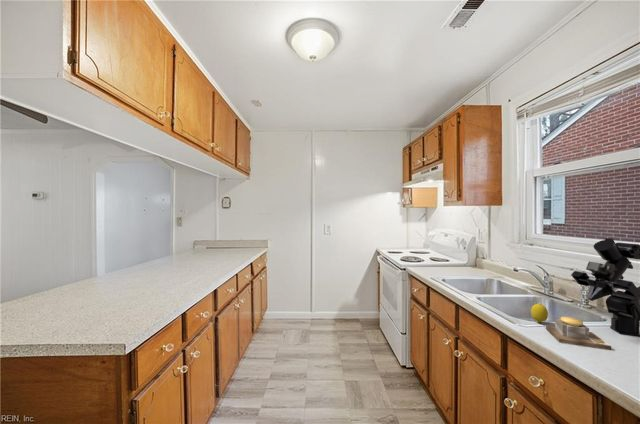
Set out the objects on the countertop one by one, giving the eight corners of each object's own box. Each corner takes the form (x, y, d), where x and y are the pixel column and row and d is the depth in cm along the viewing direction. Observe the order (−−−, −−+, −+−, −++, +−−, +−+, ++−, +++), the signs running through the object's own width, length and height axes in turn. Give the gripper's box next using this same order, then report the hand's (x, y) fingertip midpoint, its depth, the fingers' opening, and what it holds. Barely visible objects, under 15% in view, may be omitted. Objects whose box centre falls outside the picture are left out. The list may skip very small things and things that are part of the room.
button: (577, 331, 105) (577, 318, 105) (586, 337, 99) (586, 324, 99) (557, 328, 107) (557, 315, 107) (564, 334, 101) (565, 321, 101)
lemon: (548, 322, 117) (548, 303, 117) (547, 326, 112) (547, 306, 112) (531, 319, 120) (531, 300, 120) (530, 322, 116) (530, 303, 116)
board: (591, 335, 105) (591, 321, 105) (611, 350, 94) (611, 335, 94) (545, 329, 110) (546, 316, 110) (559, 342, 99) (559, 328, 99)
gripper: (574, 250, 115) (552, 279, 113) (634, 258, 97) (608, 292, 94) (589, 269, 116) (568, 297, 114) (650, 280, 98) (626, 314, 96)
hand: (590, 299), depth 105 cm, fingers closed
